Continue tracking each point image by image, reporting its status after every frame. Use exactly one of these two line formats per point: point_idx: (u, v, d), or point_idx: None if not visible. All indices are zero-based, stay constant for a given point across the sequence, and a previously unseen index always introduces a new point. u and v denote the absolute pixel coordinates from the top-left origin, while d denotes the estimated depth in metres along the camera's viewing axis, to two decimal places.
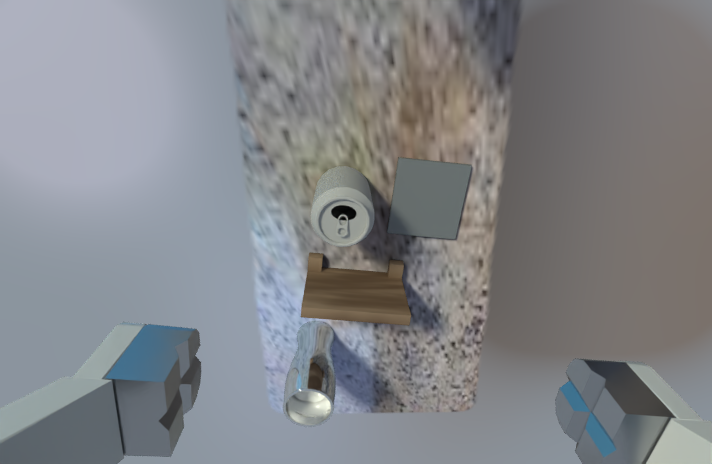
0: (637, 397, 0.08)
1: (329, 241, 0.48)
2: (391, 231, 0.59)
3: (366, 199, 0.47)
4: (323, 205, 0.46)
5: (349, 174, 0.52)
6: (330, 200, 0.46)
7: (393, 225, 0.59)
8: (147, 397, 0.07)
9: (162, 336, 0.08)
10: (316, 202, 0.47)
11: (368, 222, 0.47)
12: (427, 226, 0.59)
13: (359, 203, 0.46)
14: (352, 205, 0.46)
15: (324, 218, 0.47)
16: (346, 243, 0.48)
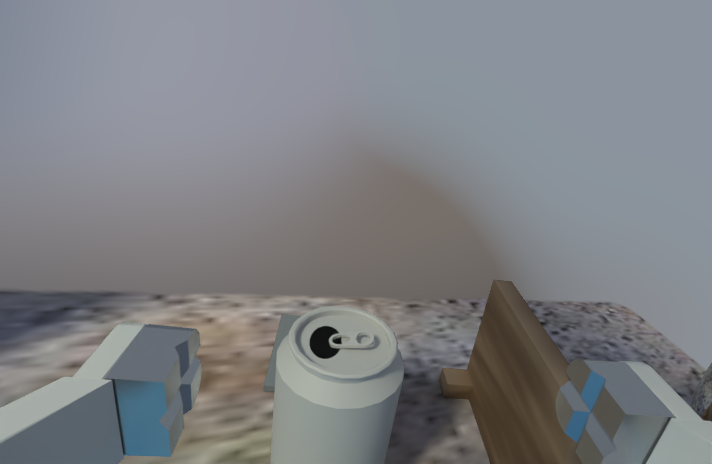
0: (638, 397, 0.08)
1: (389, 356, 0.22)
2: None
3: None
4: (308, 362, 0.21)
5: None
6: (297, 351, 0.22)
7: None
8: (147, 397, 0.07)
9: (162, 336, 0.08)
10: (308, 394, 0.21)
11: (339, 307, 0.26)
12: None
13: (303, 315, 0.25)
14: (309, 330, 0.24)
15: (340, 368, 0.22)
16: (388, 335, 0.24)
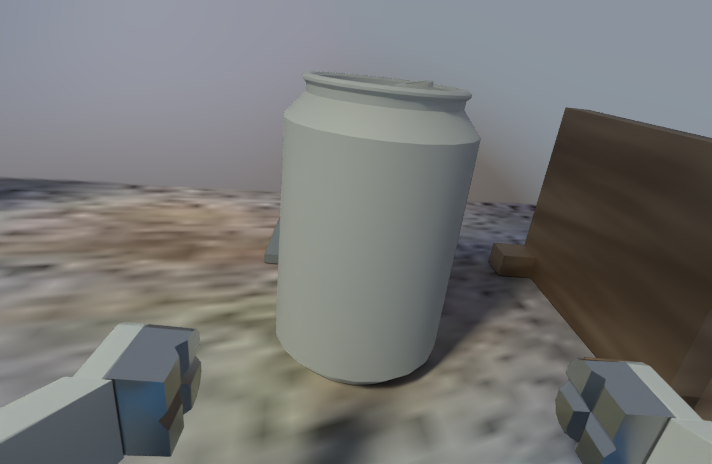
0: (637, 397, 0.08)
1: (462, 92, 0.14)
2: None
3: None
4: (337, 79, 0.13)
5: None
6: (317, 76, 0.14)
7: None
8: (147, 397, 0.07)
9: (162, 336, 0.08)
10: (339, 127, 0.13)
11: (374, 77, 0.18)
12: None
13: (322, 72, 0.17)
14: None
15: None
16: None
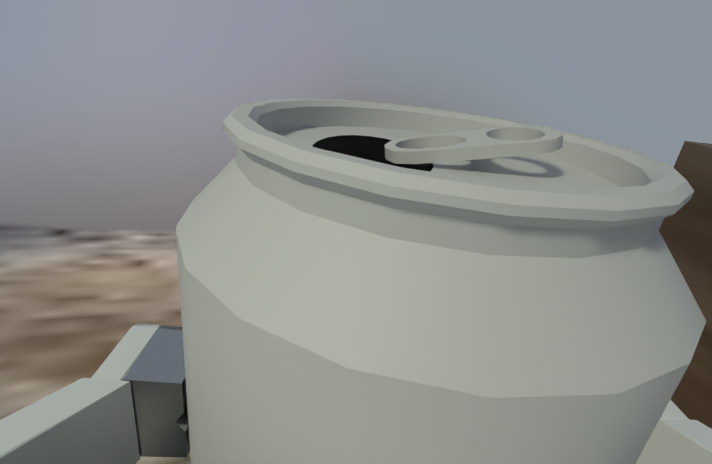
0: None
1: None
2: None
3: None
4: (306, 150, 0.04)
5: None
6: (252, 130, 0.05)
7: None
8: (164, 398, 0.07)
9: (177, 337, 0.08)
10: (311, 321, 0.04)
11: (399, 106, 0.09)
12: None
13: (290, 99, 0.07)
14: (312, 136, 0.07)
15: None
16: (582, 150, 0.07)
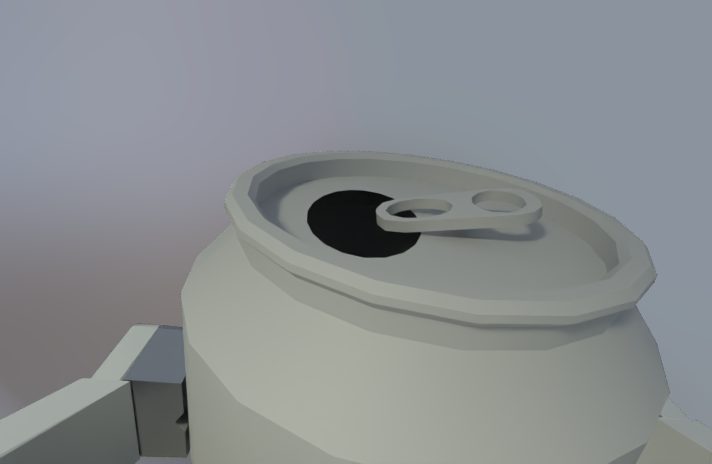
0: None
1: (629, 248, 0.06)
2: None
3: None
4: (299, 249, 0.04)
5: None
6: (251, 219, 0.05)
7: None
8: (164, 398, 0.07)
9: (177, 337, 0.08)
10: (301, 408, 0.04)
11: (393, 155, 0.09)
12: None
13: (289, 156, 0.08)
14: (309, 194, 0.07)
15: None
16: (565, 208, 0.07)
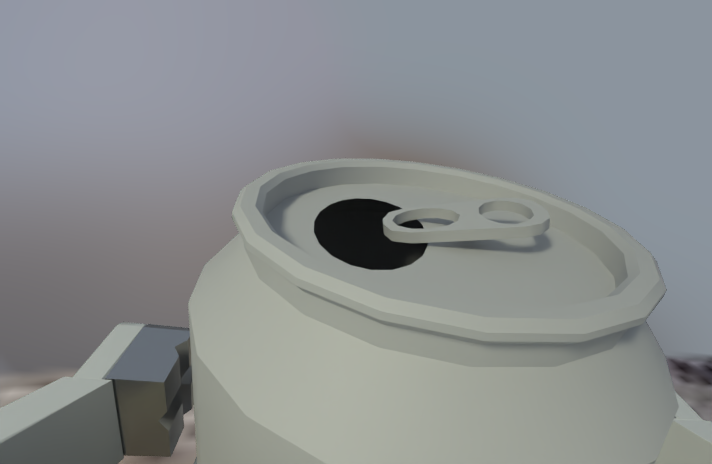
0: None
1: (638, 261, 0.06)
2: None
3: None
4: (307, 264, 0.04)
5: None
6: (259, 231, 0.05)
7: None
8: (147, 397, 0.07)
9: (162, 336, 0.08)
10: (309, 423, 0.04)
11: (400, 162, 0.09)
12: None
13: (295, 165, 0.08)
14: (315, 203, 0.07)
15: None
16: (572, 218, 0.07)
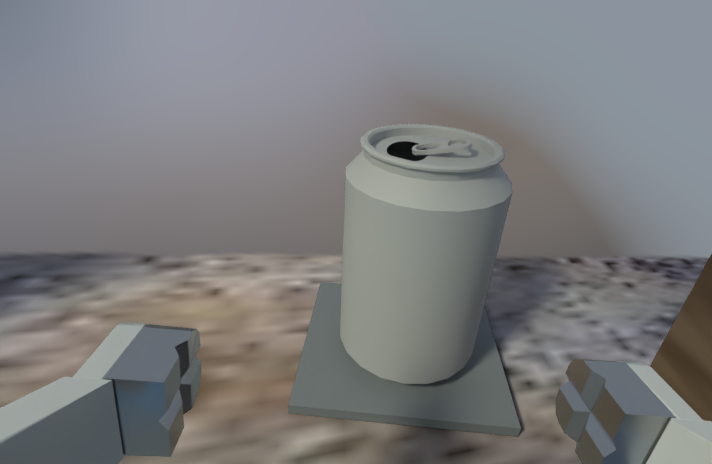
0: (637, 396, 0.08)
1: (495, 156, 0.17)
2: (511, 417, 0.20)
3: None
4: (388, 156, 0.16)
5: None
6: (372, 149, 0.17)
7: (490, 412, 0.20)
8: (147, 397, 0.07)
9: (162, 336, 0.08)
10: (389, 196, 0.16)
11: (422, 125, 0.21)
12: None
13: (377, 128, 0.20)
14: (386, 143, 0.19)
15: None
16: (489, 145, 0.19)
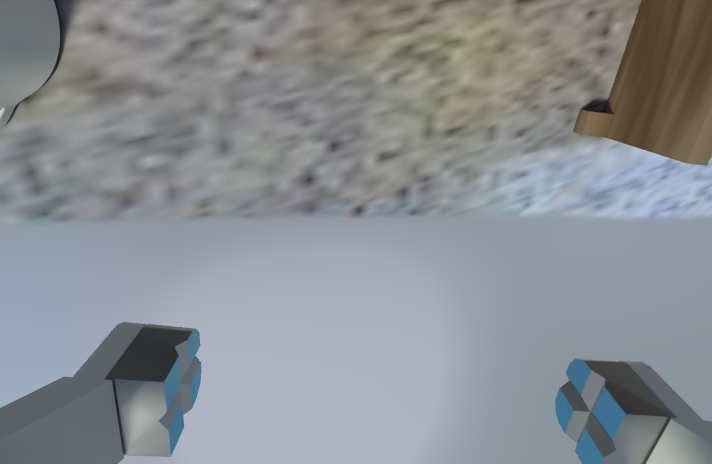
0: (637, 396, 0.08)
1: None
2: None
3: None
4: None
5: None
6: None
7: None
8: (147, 397, 0.07)
9: (162, 336, 0.08)
10: None
11: None
12: None
13: None
14: None
15: None
16: None
